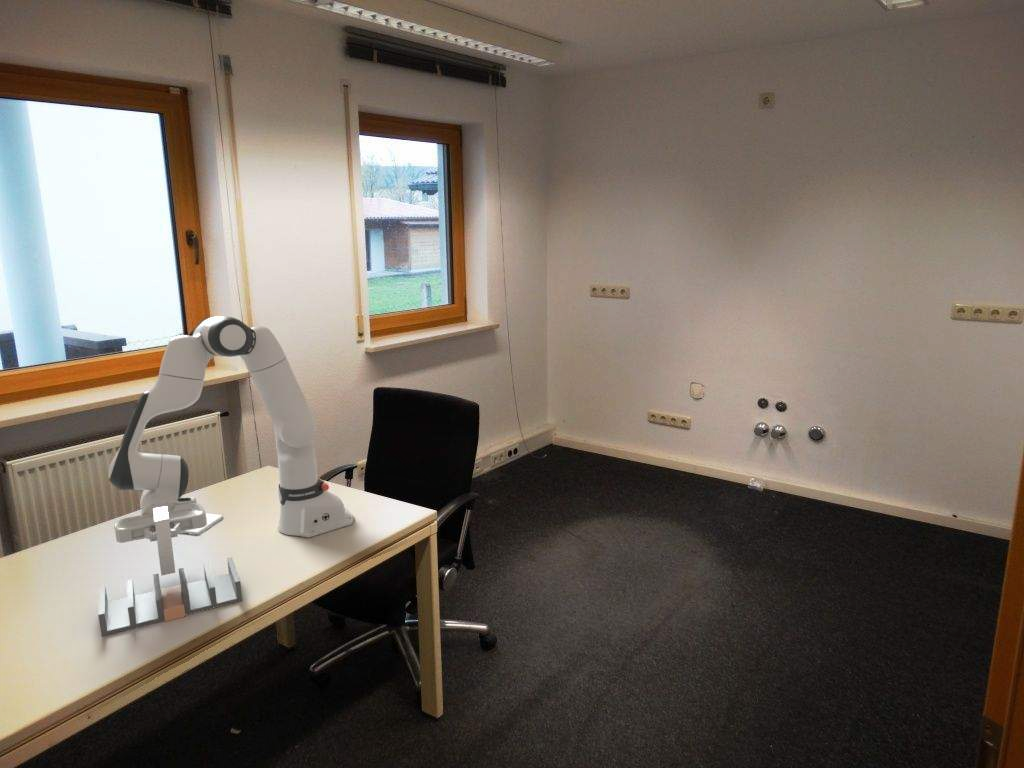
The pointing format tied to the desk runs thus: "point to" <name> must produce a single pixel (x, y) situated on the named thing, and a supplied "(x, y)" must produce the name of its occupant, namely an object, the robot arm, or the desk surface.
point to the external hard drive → (210, 521)
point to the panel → (164, 540)
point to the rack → (168, 600)
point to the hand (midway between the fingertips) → (163, 536)
